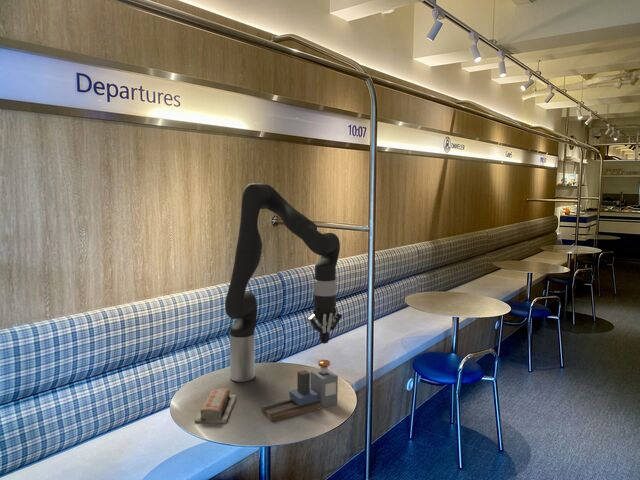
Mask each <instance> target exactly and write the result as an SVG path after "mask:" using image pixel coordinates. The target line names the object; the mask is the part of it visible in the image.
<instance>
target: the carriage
mask: <svg viewBox="0 0 640 480" xmlns="http://www.w3.org/2000/svg"><path fill="white" fill-rule="evenodd" d="M310 380H311V372H309V371H307V370H306V369H304V370H299V371H297V387H296V388H295V389H291V390H289V391H288V392H289V393H288V394H289V397H288V398H289V399H292V400H293V401H294V402H295V403H296V404H298V405H299V406H301V405H305V404H308V403H312V402H316V401H318V394H317V393H316V392H314V391H313V390H312V389H310Z"/></svg>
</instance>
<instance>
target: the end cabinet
mask: <svg viewBox="0 0 640 480" xmlns="http://www.w3.org/2000/svg"><path fill="white" fill-rule="evenodd" d="M338 380H339V376H338V375H337V374H336V373H334V372H333V371H331V370H329V369H328V375H325V376H322V375H321V368H319V369H314V370H310V389H312V390H313V391H314V392H316V393H317V394H318V400H319V401H320V402H319V403H320V404H321V409H323V408H328V407H331V406H335V405H338V392H339V391H338V389H339V385H338V383H339V382H338Z"/></svg>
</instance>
